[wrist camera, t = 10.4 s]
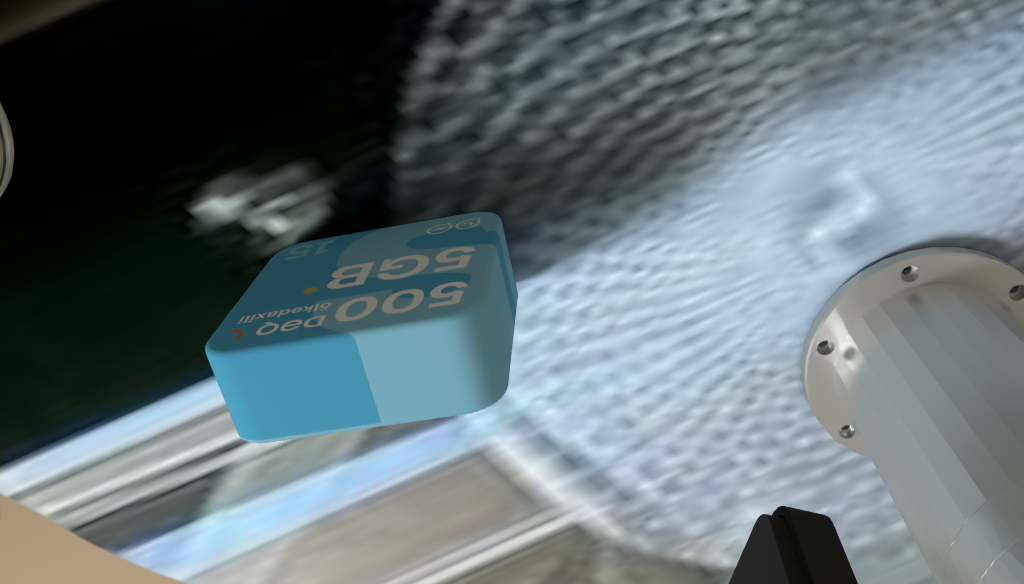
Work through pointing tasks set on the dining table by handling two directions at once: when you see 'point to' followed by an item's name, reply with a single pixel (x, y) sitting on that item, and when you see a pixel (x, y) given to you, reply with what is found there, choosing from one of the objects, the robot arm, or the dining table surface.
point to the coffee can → (5, 151)
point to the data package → (371, 330)
